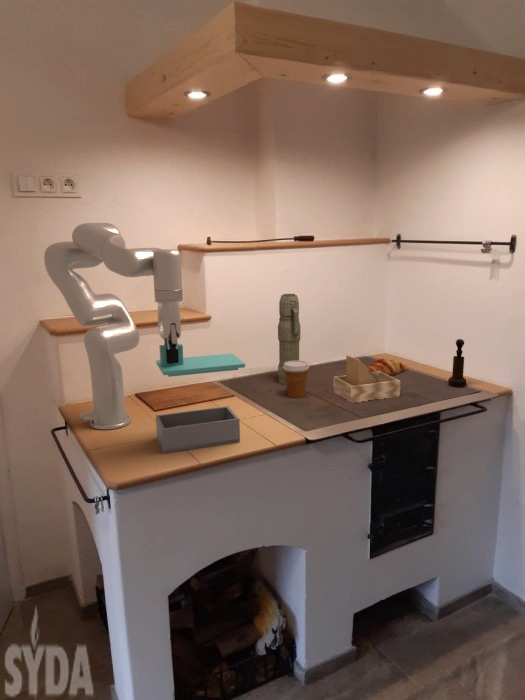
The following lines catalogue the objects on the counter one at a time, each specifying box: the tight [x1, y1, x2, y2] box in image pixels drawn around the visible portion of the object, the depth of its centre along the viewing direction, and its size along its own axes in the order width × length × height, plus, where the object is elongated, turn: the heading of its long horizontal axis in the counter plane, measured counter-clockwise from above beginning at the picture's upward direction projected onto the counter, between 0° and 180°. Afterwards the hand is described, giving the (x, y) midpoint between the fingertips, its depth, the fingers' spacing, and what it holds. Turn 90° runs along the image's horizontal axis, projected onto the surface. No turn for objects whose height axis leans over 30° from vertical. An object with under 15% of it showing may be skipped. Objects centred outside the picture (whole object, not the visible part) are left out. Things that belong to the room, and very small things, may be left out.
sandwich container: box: [345, 355, 380, 386], centre depth 192 cm, size 9×15×15 cm, turn 114°
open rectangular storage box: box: [333, 371, 401, 404], centre depth 193 cm, size 20×14×6 cm
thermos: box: [277, 293, 301, 386], centre depth 206 cm, size 9×12×35 cm
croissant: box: [366, 357, 408, 376], centre depth 220 cm, size 21×10×8 cm, turn 115°
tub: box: [155, 405, 241, 455], centre depth 154 cm, size 22×12×7 cm, turn 109°
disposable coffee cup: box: [283, 360, 310, 398], centre depth 193 cm, size 10×10×12 cm
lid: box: [155, 343, 246, 378], centre depth 149 cm, size 23×13×8 cm, turn 110°
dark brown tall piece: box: [447, 338, 467, 388], centre depth 201 cm, size 7×6×18 cm
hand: (171, 361), depth 147 cm, fingers closed on lid, 2 cm apart
